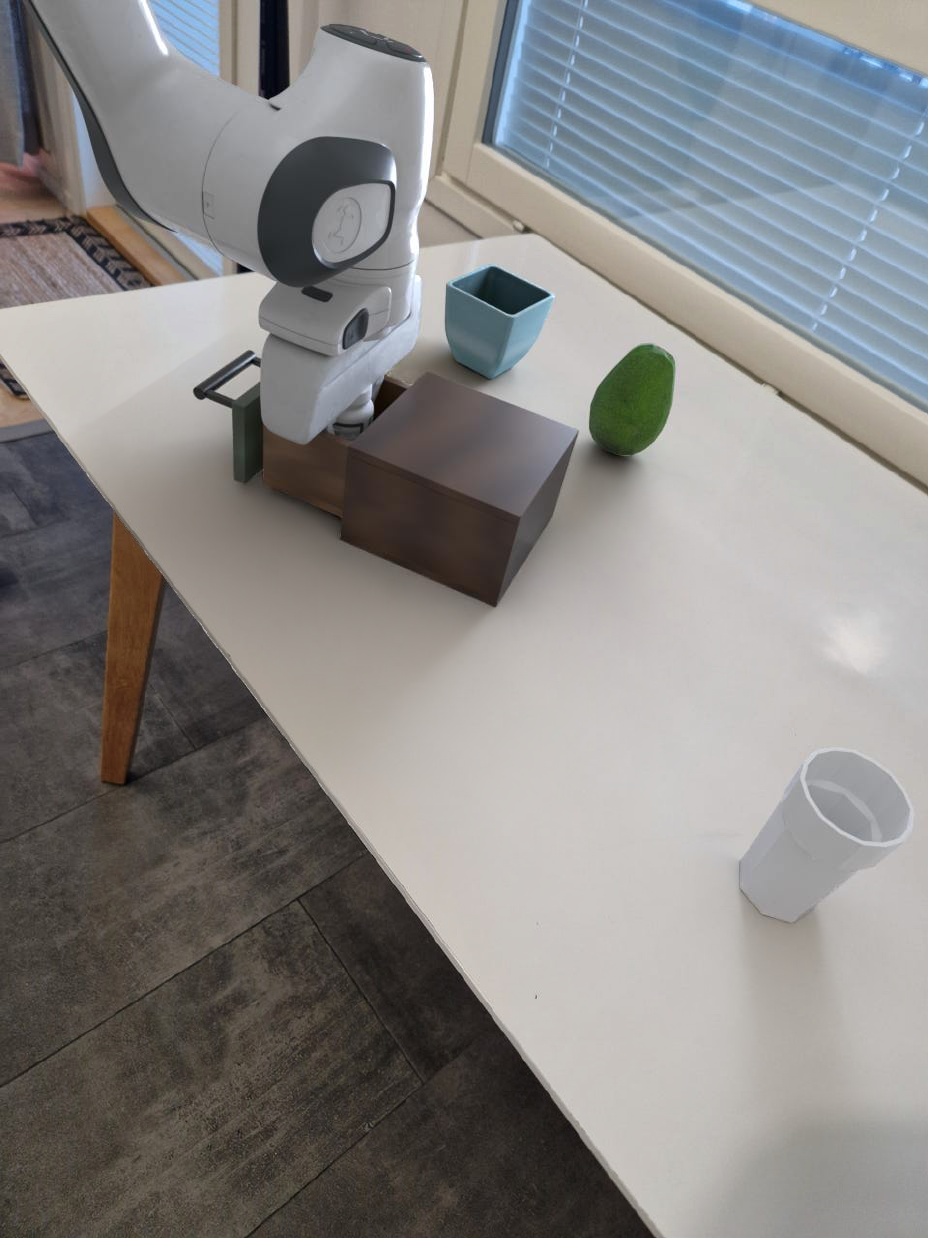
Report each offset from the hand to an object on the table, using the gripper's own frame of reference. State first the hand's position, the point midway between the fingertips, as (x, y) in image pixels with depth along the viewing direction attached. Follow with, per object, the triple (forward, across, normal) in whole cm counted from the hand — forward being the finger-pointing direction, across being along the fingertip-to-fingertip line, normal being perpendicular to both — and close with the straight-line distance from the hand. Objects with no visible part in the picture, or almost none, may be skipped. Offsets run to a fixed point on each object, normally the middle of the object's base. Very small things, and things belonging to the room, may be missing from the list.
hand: (342, 433), depth 75 cm
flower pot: (+5, -28, +3) cm, 29 cm away
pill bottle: (+3, 0, 0) cm, 3 cm away
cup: (+5, +20, +45) cm, 49 cm away
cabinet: (+5, 0, +11) cm, 12 cm away
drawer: (+4, 0, -3) cm, 5 cm away
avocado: (+5, -22, +20) cm, 31 cm away
